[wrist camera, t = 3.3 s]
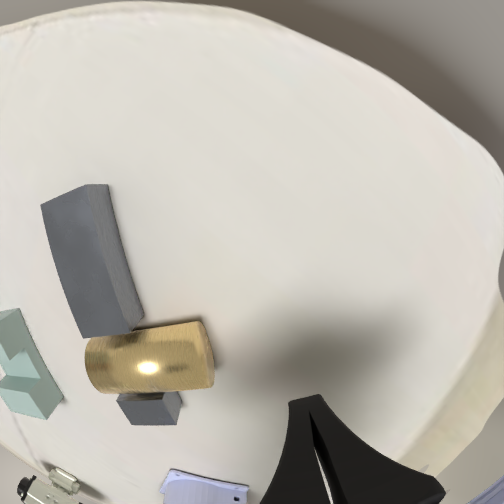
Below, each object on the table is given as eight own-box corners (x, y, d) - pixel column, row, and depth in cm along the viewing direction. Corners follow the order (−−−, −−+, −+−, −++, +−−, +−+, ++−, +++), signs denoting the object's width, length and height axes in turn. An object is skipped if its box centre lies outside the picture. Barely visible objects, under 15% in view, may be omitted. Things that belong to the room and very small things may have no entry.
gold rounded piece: (200, 311, 18) (187, 340, 14) (217, 364, 19) (210, 401, 15) (104, 326, 18) (76, 351, 14) (124, 374, 19) (103, 405, 15)
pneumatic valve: (98, 495, 26) (82, 543, 14) (40, 462, 24) (17, 505, 12) (99, 486, 24) (80, 539, 13) (36, 449, 23) (9, 496, 11)
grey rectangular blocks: (107, 184, 16) (86, 184, 13) (182, 401, 20) (176, 424, 17) (63, 201, 16) (40, 204, 13) (140, 403, 20) (131, 425, 17)
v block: (18, 308, 18) (-8, 325, 14) (63, 396, 20) (46, 420, 16) (-13, 314, 18) (-35, 328, 14) (27, 391, 20) (10, 411, 16)
